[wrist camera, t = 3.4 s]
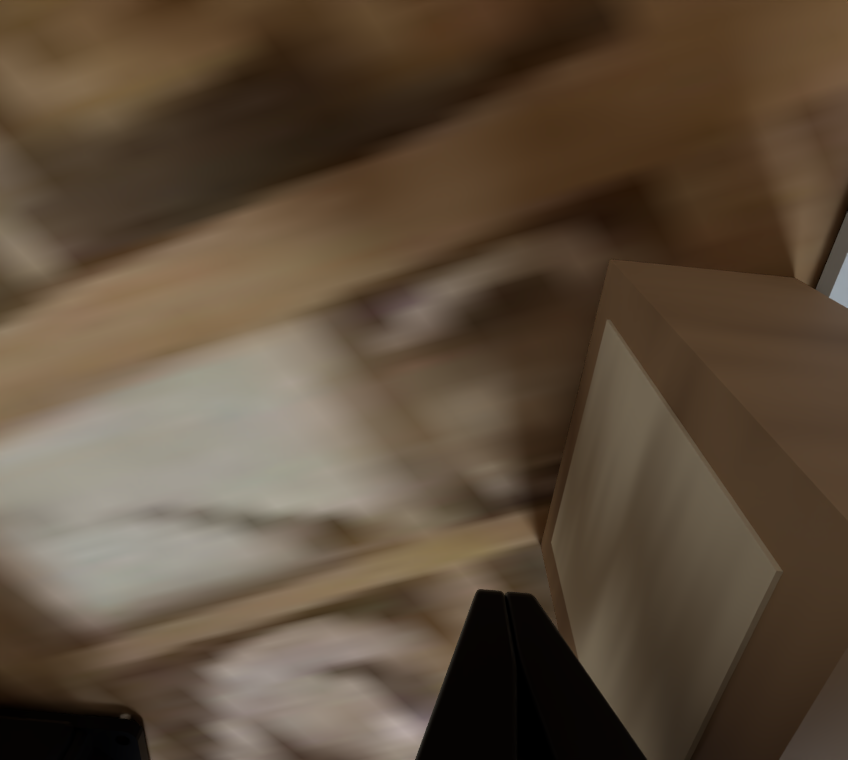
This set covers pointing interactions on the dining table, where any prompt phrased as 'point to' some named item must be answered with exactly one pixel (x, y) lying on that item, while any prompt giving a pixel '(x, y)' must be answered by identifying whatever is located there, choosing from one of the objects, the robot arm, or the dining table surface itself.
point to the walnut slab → (709, 514)
